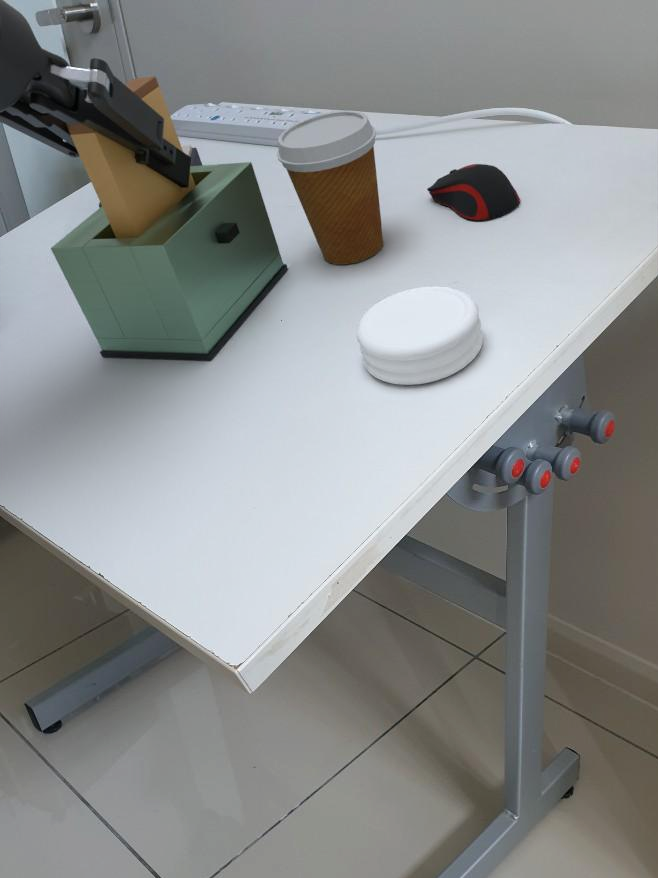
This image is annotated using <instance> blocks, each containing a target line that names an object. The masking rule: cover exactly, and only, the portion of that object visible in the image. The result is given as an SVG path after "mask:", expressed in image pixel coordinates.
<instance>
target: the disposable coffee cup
mask: <svg viewBox="0 0 658 878" xmlns="http://www.w3.org/2000/svg"><path fill="white" fill-rule="evenodd" d="M376 136H377V130H376V128H375V127H374V126H373V125H372V124H371V122H370V120H369V117H368V115H366V114H365V113H364V112H362V111H357V110H336V111H330V112H325V113H321V114H316V115H313V116H310V117H308V118H305V119H302V120H300V121H298V122H295V123H294V124H292V125H290V126H289V127H287V128H286V129H284V131H282V132H281V133H280V134H279V136H278V138H277V145H278V151H277V153H276V156H277V160H278V161H279V162H280V163H281V164H282V167H283V168H285V170H286V171H287V174H288V176H289V178H290V181H291V183H292V186H293V188H294V190H295V193H296V195H297V198H298V200H299V203H300V204H301V207H302V209H303V211H304V214H305V217H306V219H307V221H308V223H309V226H310V228H311V231H312V233H313V235H314V238H315V240H316V243H317V245H318V247H319V250H320V252H321V254H322V256H323V260H324V261H325V262H326V263H328V264H331V265H332V264H333V265H339V266H340V265H341V266H342V265H352V264H356V263H358V262H362V261H366V260H367V259H370V258H371V257H374V256H375V255H376V254H377V253H379V252H380V251H381V249H382V248H383V247H384V237H383V235H384V234H383V228H382V227H383V226H382V225H383V224H382V217H381V207H380V206H381V205H380V196H379V195H380V194H379V188H378V187H379V185H378V177H377V176H378V175H377V166H376V157H375V156H376V155H375V144H376V141H375V139H376Z"/></svg>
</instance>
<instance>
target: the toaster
mask: <svg viewBox="0 0 658 878" xmlns="http://www.w3.org/2000/svg"><path fill="white" fill-rule="evenodd" d="M190 172H191V175H192V177H193V180H194V183H195V187H194V188H193V189H192V190H191V191H190V192H189V193H188V194H186V195H185V196H184V197H183V198H182V199H181V200H180V201H179V202H178V203H177V204H175V205H174V206H173V207H172V208H171V209H170V210H169V211H168V212H167V213H165V214H164V215H163V216H162V217H161V218H160V219H159V220H158V221H157V222H155V223H154V224H153V225H152V226H151V227H150V228H149V229H148V230H147V231H145V232H144V233H143V234H142V235H141V236H140V237H139V238H116V236H115V234H114V232H113V230H112V227H111V225H110V223H109V221H108V218H107V216H106V214H105V212H104V209H103V207H100V208H99V207H98V209H97V210H95V211H94V212H93V213H91V214H90V215H89V216H88V217H86V219H84V220H83V221H82V222H80V223H79V224H78V225H77V226H75V228H73V229H72V230H70V232H69V233H67V234H66V235H65V236H63V237H62V238H61V239H60V240H58V242H56V243H55V244H54V245H52V246H51V247H50V250H51V252H52V254H53V256H54V258H55V260H56V262H57V264H58V266H59V268H60V270H61V272H62V274H63V277H64V278H65V280H66V281H67V284H68V286H69V288H70V290H71V292H72V294H73V295H74V298H75V300H76V301H77V303H78V305H79V307H80V310H81V311H82V313H83V315H84V317H85V320H86V321H87V324H88V325H89V327H90V329H91V332H92V333H93V335H94V337H95V338H96V340H97V343H98V345H99V347H100V349H101V350H100V351H99V354H100V356H101V357H102V358H117V359H118V358H119V359H145V360H146V359H149V360H172V361H173V360H174V361H175V360H177V361H178V360H179V361H202V362H203V361H205V362H211V361H212V360H213V359H214V357H216V355H217V354H218V353H219V352H220V351H221V349H222V348H223V347H224V346H225V345H226V344H227V342H229V340H230V339H231V338H232V337H233V335H234V334H235V333H236V332H237V330H238V329H239V328H240V327H241V326H242V324H244V322H245V321H246V320H247V319H248V317H250V315H251V314H252V313H253V311H255V309H256V308H257V307H258V306H259V304H260V303H262V301H263V300H264V299H265V298H266V296H267V295H268V294H269V293H270V291H271V290H272V289H273V288H274V287H275V285H276V284H278V282H279V281H280V279H281V278H282V277H283V276H284V274H286V272H287V271H288V270H289V267H288V265H287V263H284V262H283V258H282V255H281V253H280V249H279V245H278V242H277V239H276V236H275V233H274V229H273V226H272V223H271V221H270V216H269V214H268V211H267V207H266V204H265V201H264V198H263V195H262V191H261V188H260V185H259V181H258V179H257V176H256V173H255V170H254V167H253V163H252V162H251V161H247V162H234V163H221V164H220V163H218V164H202V166H190Z"/></svg>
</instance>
